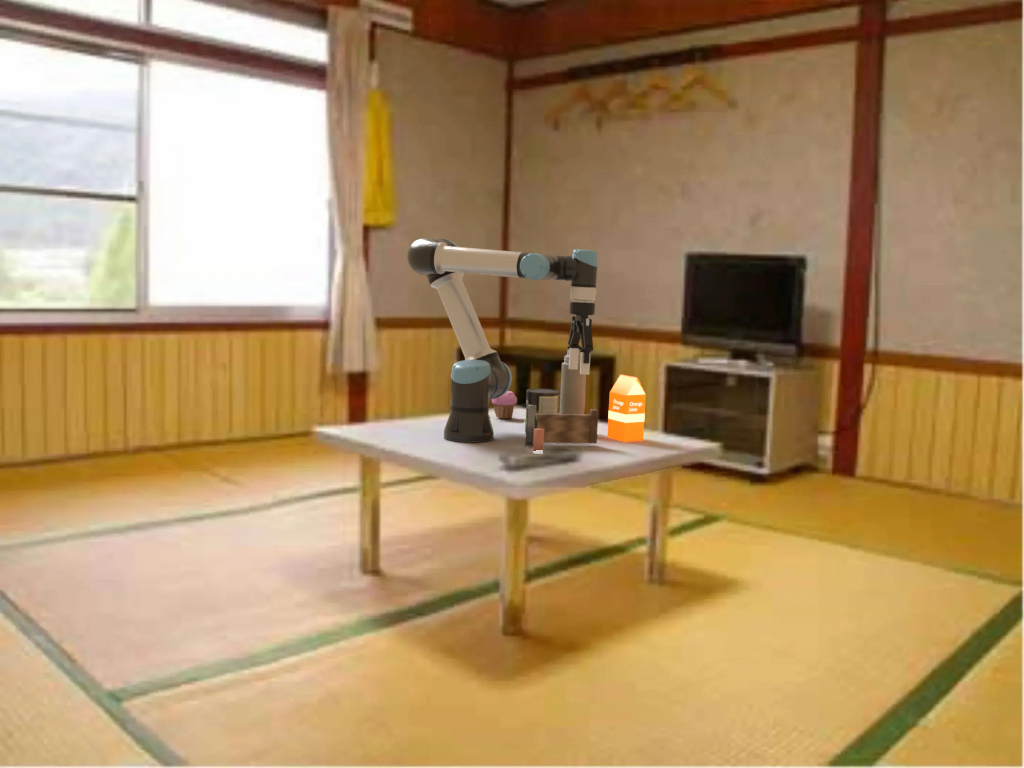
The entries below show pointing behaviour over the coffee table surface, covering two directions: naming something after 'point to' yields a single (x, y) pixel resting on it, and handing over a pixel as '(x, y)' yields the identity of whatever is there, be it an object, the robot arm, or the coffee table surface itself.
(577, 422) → the gate
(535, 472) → the coffee table surface
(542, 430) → the latch post
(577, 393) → the thermos bottle
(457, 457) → the coffee table surface
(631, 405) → the orange juice
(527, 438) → the hinge post
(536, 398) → the coffee can
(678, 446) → the coffee table surface
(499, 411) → the cupcake
